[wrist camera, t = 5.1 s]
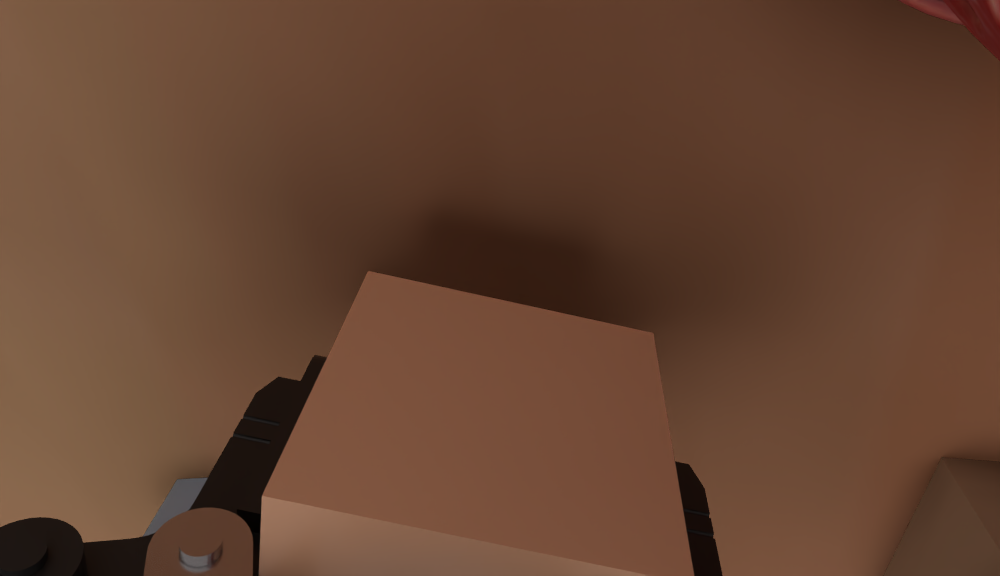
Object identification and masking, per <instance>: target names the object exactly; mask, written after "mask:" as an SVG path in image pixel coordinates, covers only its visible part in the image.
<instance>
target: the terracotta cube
mask: <svg viewBox="0 0 1000 576" xmlns="http://www.w3.org/2000/svg"><path fill="white" fill-rule="evenodd" d="M259 576H694V572H693V566H692V560H691V554H690V548H689V542H688V536H687V530H686V524H685V518H684V512H683V506H682V500H681V494H680V489H679V483H678V477H677V471H676V465H675V459H674V453H673V447H672V441H671V435H670V429H669V423H668V417H667V411H666V405H665V399H664V393H663V387H662V382H661V376H660V370H659V364H658V358H657V352H656V346H655V340H654V334H653V333H651V332H647V331H642V330H638V329H633V328H628V327H624V326H619V325H615V324H610V323H605V322H601V321H596V320H592V319H587V318H582V317H578V316H573V315H569V314H564V313H560V312H555V311H550V310H546V309H541V308H537V307H532V306H527V305H523V304H518V303H514V302H509V301H504V300H500V299H495V298H491V297H486V296H481V295H477V294H472V293H468V292H463V291H458V290H454V289H449V288H445V287H440V286H436V285H431V284H426V283H422V282H417V281H413V280H408V279H403V278H399V277H394V276H390V275H385V274H380V273H376V272H371V271H368V272H367V274H366V276H365V278H364V281H363V283H362V285H361V287H360V289H359V291H358V293H357V295H356V298H355V300H354V302H353V304H352V306H351V308H350V310H349V312H348V314H347V317H346V319H345V321H344V323H343V325H342V327H341V329H340V331H339V334H338V336H337V338H336V340H335V342H334V344H333V346H332V348H331V351H330V353H329V355H328V357H327V359H326V361H325V363H324V365H323V367H322V370H321V372H320V374H319V376H318V378H317V380H316V382H315V384H314V387H313V389H312V391H311V393H310V395H309V397H308V399H307V401H306V403H305V406H304V408H303V410H302V412H301V414H300V416H299V418H298V420H297V423H296V425H295V427H294V429H293V431H292V433H291V435H290V437H289V440H288V442H287V444H286V446H285V448H284V450H283V452H282V454H281V456H280V459H279V461H278V463H277V465H276V467H275V469H274V471H273V473H272V476H271V478H270V480H269V482H268V484H267V486H266V488H265V490H264V492H263V495H262V506H261V531H260V556H259Z"/></svg>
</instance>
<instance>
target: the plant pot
mask: <svg viewBox="0 0 1000 576" xmlns="http://www.w3.org/2000/svg"><path fill="white" fill-rule="evenodd" d="M898 1H900V2H902V3H904V4H906V5H909V6H911V7H913V8H915V9H917V10H919V11H921V12H924V13H926V14H929V15H931V16H934V17H937V18H940V19H944V20H947V21H950V22H954V23H957V24H961V25H965V27H966V28H967V29H968V30H969V31H970V32H971V33H972V35H974V36H975V37H976V38H977V39H978V40H979V41H980V42H981V43H982V44H983V45H984V46H985V47H986V48H987V49H988V50H989V51H990V52H991V53H992V54H993V55H994V56H995V57H996V58H997V59H998V60H999V61H1000V0H898Z"/></svg>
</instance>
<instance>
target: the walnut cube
mask: <svg viewBox="0 0 1000 576" xmlns="http://www.w3.org/2000/svg"><path fill="white" fill-rule="evenodd" d="M883 576H1000V462H997V461H984V460H971V459H958V458H945V457H941V459H940V461H939V463H938V466H937V468H936V470H935V472H934V474H933V476H932V478H931V480H930V482H929V484H928V486H927V488H926V490H925V492H924V494H923V496H922V498H921V500H920V502H919V504H918V506H917V508H916V510H915V512H914V514H913V516H912V518H911V520H910V522H909V524H908V526H907V529H906V531H905V533H904V535H903V537H902V539H901V541H900V543H899V545H898V547H897V549H896V551H895V553H894V555H893V557H892V559H891V561H890V563H889V565H888V567H887V569H886V571H885V573H884V575H883Z"/></svg>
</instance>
